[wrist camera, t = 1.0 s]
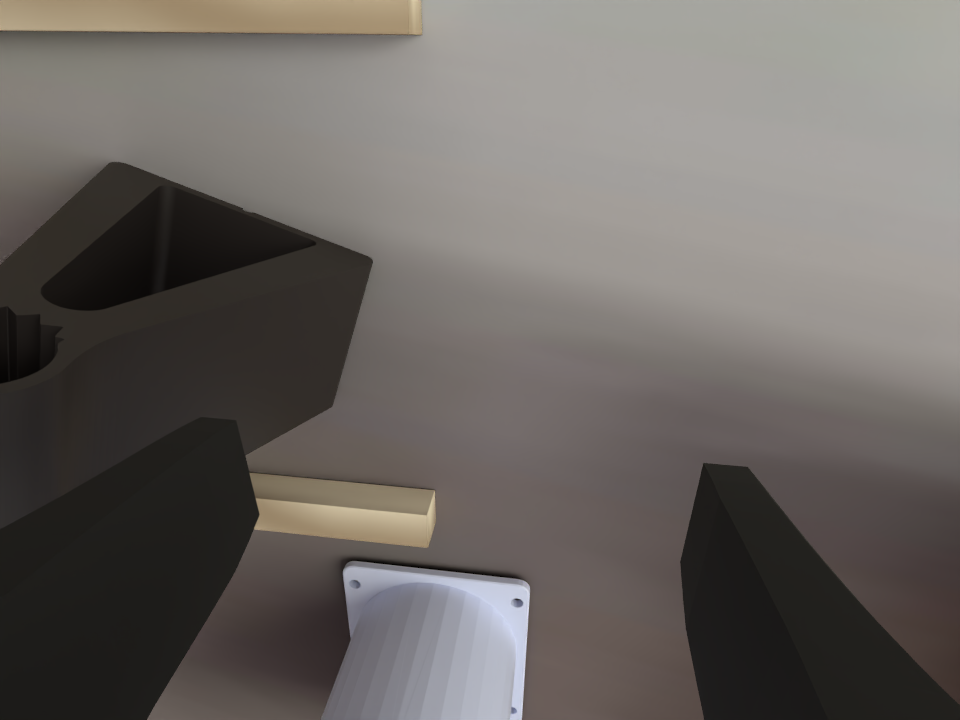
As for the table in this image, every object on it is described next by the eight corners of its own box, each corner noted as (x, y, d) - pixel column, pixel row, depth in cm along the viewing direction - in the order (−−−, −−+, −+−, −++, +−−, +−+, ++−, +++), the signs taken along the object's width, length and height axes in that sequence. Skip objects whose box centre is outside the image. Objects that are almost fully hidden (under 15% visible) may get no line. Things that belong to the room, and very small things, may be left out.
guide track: (435, 521, 25) (413, 598, 22) (-47, 472, 28) (-137, 534, 24) (420, -33, 17) (378, -54, 13) (-275, -31, 19) (-465, -47, 16)
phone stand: (107, 315, 23) (-290, 542, 13) (118, 158, 20) (-378, 279, 10) (335, 402, 24) (137, 694, 13) (376, 259, 21) (168, 482, 10)
